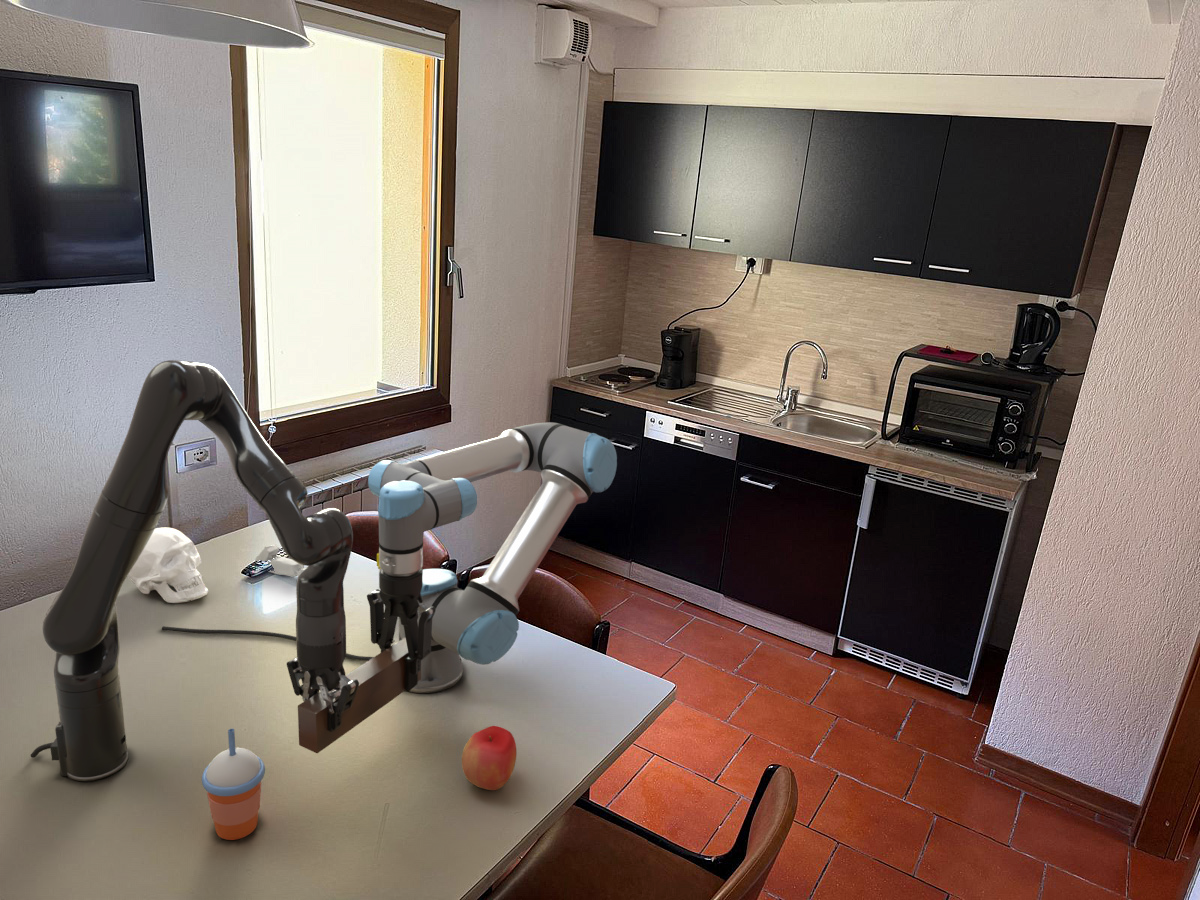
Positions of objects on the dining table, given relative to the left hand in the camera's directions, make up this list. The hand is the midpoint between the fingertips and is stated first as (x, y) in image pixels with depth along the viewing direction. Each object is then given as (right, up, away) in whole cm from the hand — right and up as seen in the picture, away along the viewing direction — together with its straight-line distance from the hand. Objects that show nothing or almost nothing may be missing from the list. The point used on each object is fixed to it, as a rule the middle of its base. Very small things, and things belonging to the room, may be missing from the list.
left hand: (323, 723), depth 140 cm
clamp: (-35, +13, +80) cm, 88 cm away
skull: (-59, +11, +67) cm, 90 cm away
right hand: (+9, +2, +17) cm, 19 cm away
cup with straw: (-13, -15, -4) cm, 20 cm away
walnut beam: (+4, 0, +9) cm, 10 cm away
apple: (+26, -14, +10) cm, 31 cm away
